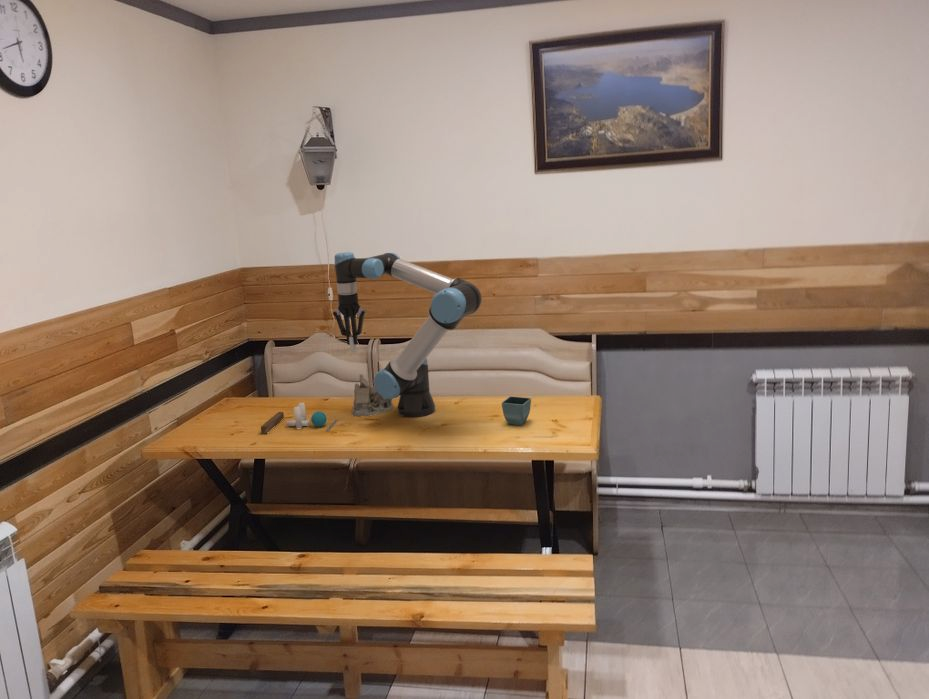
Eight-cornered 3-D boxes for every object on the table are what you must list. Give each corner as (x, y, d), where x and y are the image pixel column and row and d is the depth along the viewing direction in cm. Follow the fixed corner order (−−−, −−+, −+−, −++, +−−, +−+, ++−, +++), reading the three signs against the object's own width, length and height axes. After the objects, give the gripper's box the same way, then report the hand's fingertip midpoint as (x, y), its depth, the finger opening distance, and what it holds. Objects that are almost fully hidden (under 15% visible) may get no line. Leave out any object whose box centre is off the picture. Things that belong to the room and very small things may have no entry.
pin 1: (303, 427, 302) (300, 406, 300) (301, 429, 300) (298, 408, 298) (297, 427, 302) (295, 406, 300) (295, 429, 300) (292, 408, 298)
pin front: (309, 419, 303) (288, 419, 305) (307, 421, 301) (286, 421, 302) (309, 425, 304) (289, 425, 305) (307, 427, 302) (286, 427, 303)
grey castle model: (346, 416, 312) (345, 380, 308) (362, 405, 327) (361, 370, 324) (383, 419, 308) (383, 383, 305) (397, 408, 323) (396, 373, 320)
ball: (310, 417, 305) (323, 426, 305) (306, 422, 299) (318, 432, 299) (319, 406, 303) (331, 415, 303) (314, 411, 297) (327, 420, 298)
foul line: (338, 420, 307) (338, 420, 307) (328, 431, 295) (328, 430, 295) (335, 420, 307) (335, 420, 307) (325, 431, 296) (325, 430, 296)
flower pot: (532, 420, 294) (531, 397, 291) (524, 428, 286) (523, 404, 284) (510, 418, 297) (509, 396, 295) (502, 425, 290) (501, 402, 287)
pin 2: (307, 422, 307) (305, 402, 305) (305, 425, 304) (303, 404, 302) (302, 423, 307) (299, 402, 305) (299, 425, 305) (297, 404, 303)
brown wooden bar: (284, 418, 314) (283, 411, 313) (266, 434, 296) (265, 426, 296) (279, 418, 314) (278, 411, 313) (261, 434, 297) (260, 426, 296)
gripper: (366, 290, 301) (372, 349, 307) (334, 292, 303) (340, 350, 309) (361, 294, 294) (366, 354, 300) (328, 295, 296) (334, 355, 302)
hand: (353, 352), depth 304 cm, fingers closed
